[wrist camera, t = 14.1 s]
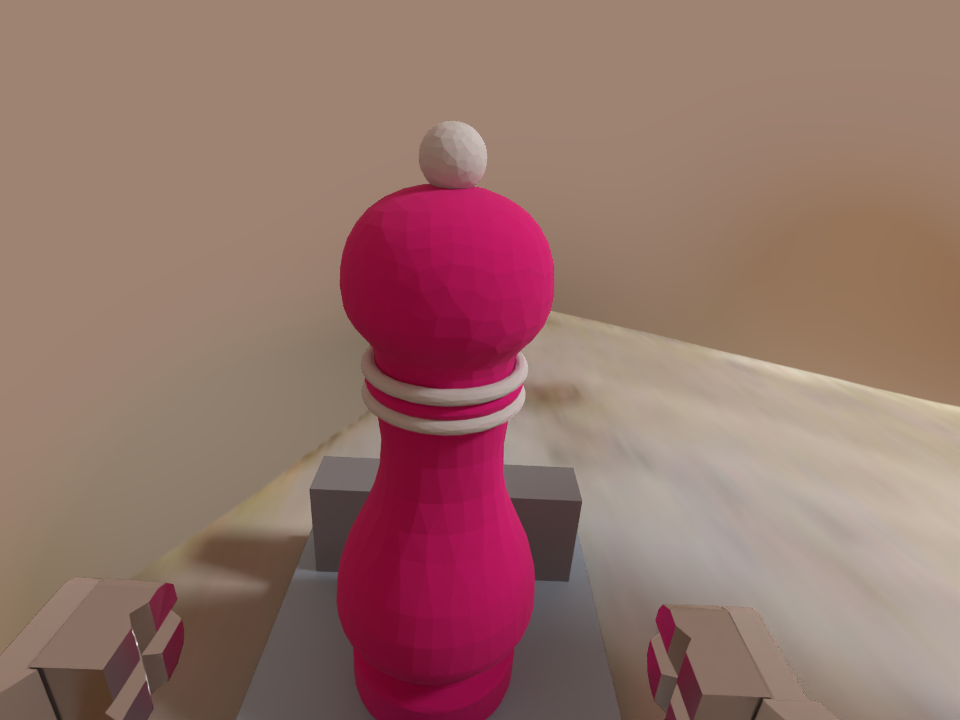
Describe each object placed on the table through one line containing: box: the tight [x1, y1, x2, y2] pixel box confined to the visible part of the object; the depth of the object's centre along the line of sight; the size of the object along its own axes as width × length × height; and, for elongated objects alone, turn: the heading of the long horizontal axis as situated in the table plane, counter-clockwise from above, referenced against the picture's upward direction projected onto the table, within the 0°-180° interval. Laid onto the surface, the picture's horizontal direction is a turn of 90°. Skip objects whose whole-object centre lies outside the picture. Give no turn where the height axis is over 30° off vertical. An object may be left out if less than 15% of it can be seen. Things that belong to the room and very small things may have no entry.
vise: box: [236, 456, 622, 720], centre depth 20 cm, size 14×20×6 cm
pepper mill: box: [336, 121, 554, 720], centre depth 18 cm, size 7×7×20 cm
